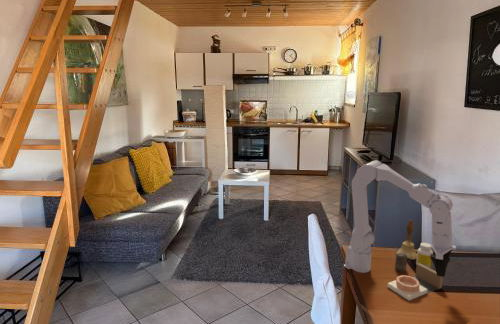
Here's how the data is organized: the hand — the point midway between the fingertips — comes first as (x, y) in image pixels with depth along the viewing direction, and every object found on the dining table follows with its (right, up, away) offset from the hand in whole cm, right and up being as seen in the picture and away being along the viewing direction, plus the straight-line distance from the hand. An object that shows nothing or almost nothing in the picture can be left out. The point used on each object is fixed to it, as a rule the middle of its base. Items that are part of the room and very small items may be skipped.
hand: (442, 270), depth 114 cm
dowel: (-6, -6, +18) cm, 20 cm away
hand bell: (+3, -4, +32) cm, 32 cm away
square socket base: (-10, -8, +5) cm, 14 cm away
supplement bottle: (+5, -6, +22) cm, 23 cm away
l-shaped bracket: (-7, -9, +6) cm, 13 cm away
